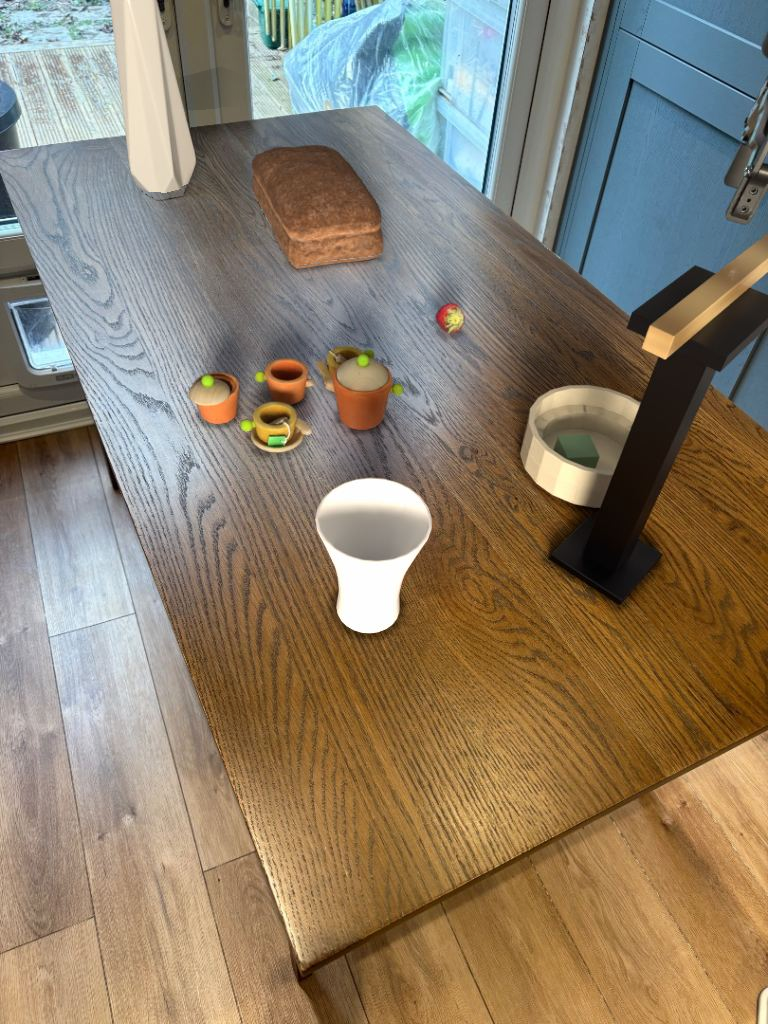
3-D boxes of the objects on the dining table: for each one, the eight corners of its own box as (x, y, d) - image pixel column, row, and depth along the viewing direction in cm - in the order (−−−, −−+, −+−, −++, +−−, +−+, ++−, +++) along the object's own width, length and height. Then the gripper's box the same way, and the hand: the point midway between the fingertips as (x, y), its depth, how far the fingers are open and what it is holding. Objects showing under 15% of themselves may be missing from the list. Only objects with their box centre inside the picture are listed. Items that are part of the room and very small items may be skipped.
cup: (295, 609, 76) (290, 519, 66) (363, 551, 82) (368, 461, 72) (372, 670, 72) (380, 583, 62) (439, 605, 78) (455, 516, 68)
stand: (593, 515, 88) (689, 262, 65) (662, 557, 84) (791, 304, 61) (541, 566, 82) (626, 309, 59) (612, 614, 78) (734, 358, 55)
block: (581, 458, 94) (589, 434, 91) (591, 480, 91) (600, 456, 88) (550, 460, 93) (557, 435, 90) (559, 482, 90) (567, 458, 88)
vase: (115, 191, 138) (71, -24, 114) (166, 174, 144) (134, -34, 121) (158, 213, 133) (121, -7, 109) (208, 194, 139) (184, -18, 116)
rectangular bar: (770, 243, 68) (779, 222, 66) (791, 252, 67) (801, 230, 66) (640, 348, 55) (649, 325, 54) (665, 360, 54) (674, 336, 53)
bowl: (649, 434, 99) (664, 398, 94) (653, 523, 88) (670, 486, 83) (525, 412, 100) (534, 375, 96) (513, 496, 89) (523, 459, 85)
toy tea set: (362, 357, 107) (365, 297, 100) (413, 423, 97) (420, 361, 90) (181, 401, 98) (170, 338, 91) (219, 478, 89) (210, 414, 82)
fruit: (455, 317, 115) (459, 288, 112) (467, 339, 111) (472, 310, 108) (429, 320, 114) (432, 290, 111) (440, 342, 111) (444, 312, 107)
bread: (335, 188, 144) (336, 125, 136) (387, 262, 126) (391, 194, 117) (248, 196, 140) (243, 131, 132) (288, 274, 121) (285, 205, 113)
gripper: (904, 30, 52) (779, 247, 64) (873, -8, 62) (770, 186, 74) (797, 2, 53) (693, 221, 65) (783, -31, 63) (695, 165, 74)
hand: (734, 202), depth 69 cm, fingers open, 8 cm apart
